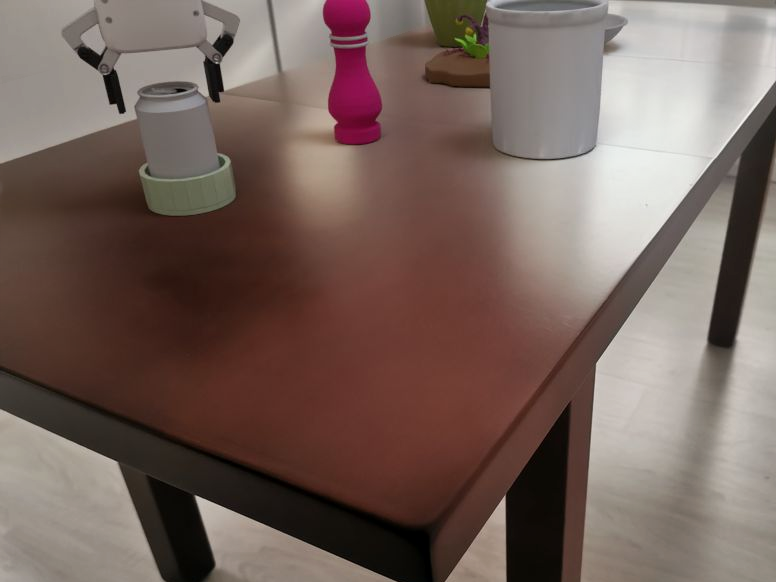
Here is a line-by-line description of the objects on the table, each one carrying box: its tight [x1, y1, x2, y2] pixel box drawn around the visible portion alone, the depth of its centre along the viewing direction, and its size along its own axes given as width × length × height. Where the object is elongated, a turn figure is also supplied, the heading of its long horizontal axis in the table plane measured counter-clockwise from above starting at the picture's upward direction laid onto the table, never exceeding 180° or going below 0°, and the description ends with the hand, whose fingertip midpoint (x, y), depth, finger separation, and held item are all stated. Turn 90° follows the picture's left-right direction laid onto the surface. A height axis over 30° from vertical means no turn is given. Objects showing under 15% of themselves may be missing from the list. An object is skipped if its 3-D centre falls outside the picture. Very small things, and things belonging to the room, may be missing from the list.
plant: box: [424, 11, 490, 88], centre depth 136 cm, size 20×20×11 cm
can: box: [133, 80, 220, 179], centre depth 88 cm, size 8×8×12 cm
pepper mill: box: [322, 0, 383, 146], centre depth 105 cm, size 7×7×20 cm
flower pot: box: [423, 0, 488, 48], centre depth 157 cm, size 15×15×16 cm
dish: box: [604, 13, 629, 44], centre depth 154 cm, size 18×14×5 cm
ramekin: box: [138, 152, 237, 217], centre depth 91 cm, size 10×10×4 cm
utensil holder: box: [485, 0, 609, 160], centre depth 102 cm, size 15×15×18 cm
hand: (169, 105), depth 86 cm, fingers open, 9 cm apart
